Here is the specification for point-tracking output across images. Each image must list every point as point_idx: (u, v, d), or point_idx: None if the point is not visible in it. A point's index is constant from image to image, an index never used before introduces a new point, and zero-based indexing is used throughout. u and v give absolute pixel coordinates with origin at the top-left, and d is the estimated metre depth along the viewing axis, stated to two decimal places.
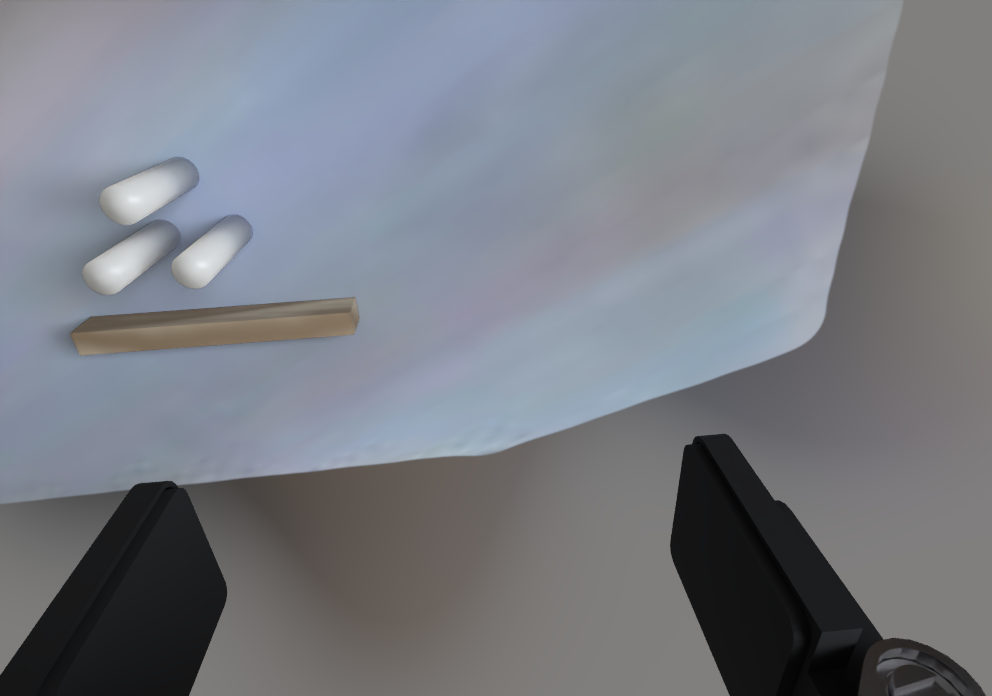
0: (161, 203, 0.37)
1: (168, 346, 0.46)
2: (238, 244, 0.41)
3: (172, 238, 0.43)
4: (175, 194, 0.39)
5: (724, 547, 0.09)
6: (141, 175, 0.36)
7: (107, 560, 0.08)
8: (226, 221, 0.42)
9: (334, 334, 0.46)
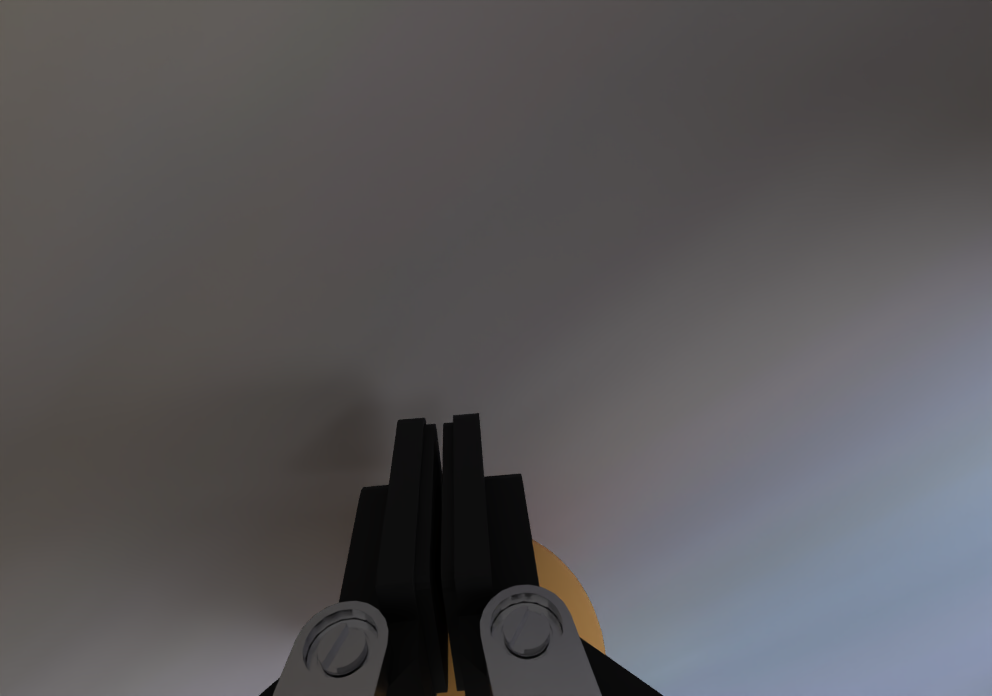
0: None
1: None
2: None
3: None
4: None
5: None
6: None
7: (412, 476, 0.09)
8: None
9: None
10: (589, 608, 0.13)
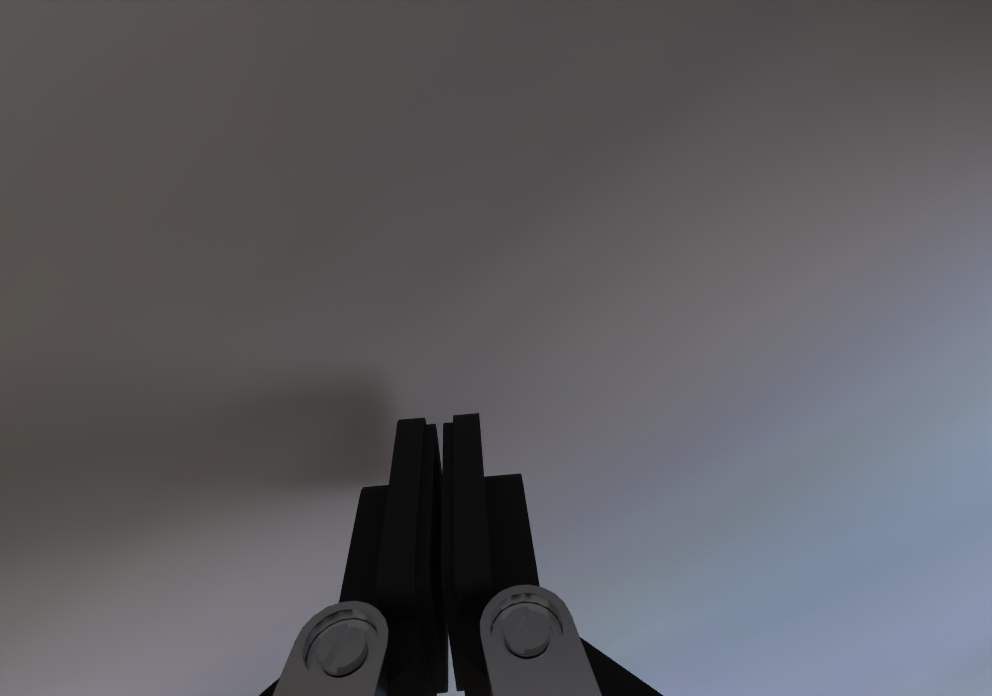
0: None
1: None
2: None
3: None
4: None
5: None
6: None
7: (412, 476, 0.09)
8: None
9: None
10: None
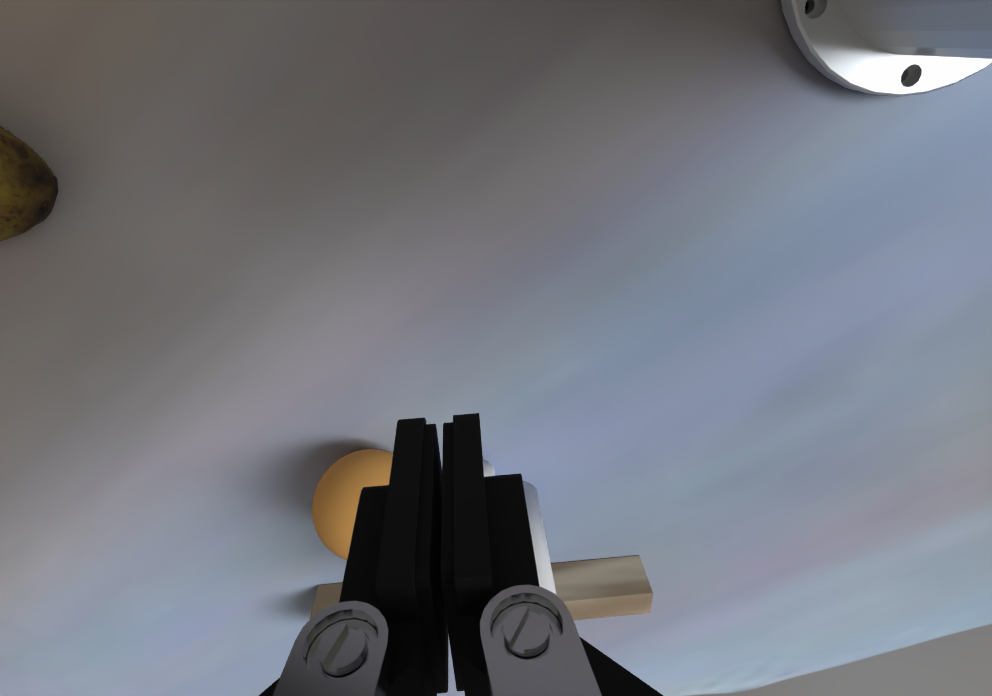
0: None
1: None
2: None
3: None
4: None
5: None
6: None
7: (413, 476, 0.09)
8: None
9: (626, 613, 0.37)
10: None
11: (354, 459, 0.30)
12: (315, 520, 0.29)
